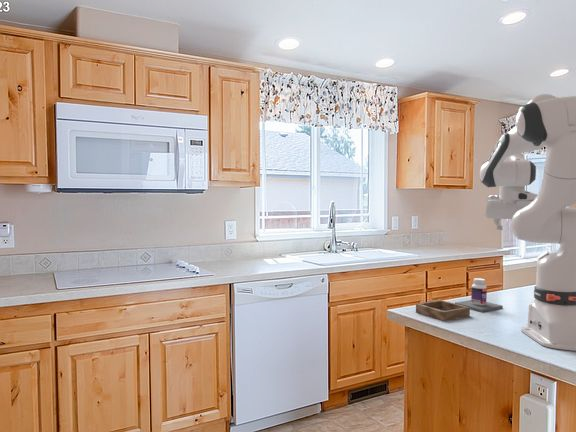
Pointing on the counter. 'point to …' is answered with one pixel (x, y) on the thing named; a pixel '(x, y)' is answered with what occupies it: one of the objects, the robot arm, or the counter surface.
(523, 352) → the counter surface
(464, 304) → the rubber mat
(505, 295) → the counter surface
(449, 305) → the wooden tray
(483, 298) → the pill bottle
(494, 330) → the counter surface
